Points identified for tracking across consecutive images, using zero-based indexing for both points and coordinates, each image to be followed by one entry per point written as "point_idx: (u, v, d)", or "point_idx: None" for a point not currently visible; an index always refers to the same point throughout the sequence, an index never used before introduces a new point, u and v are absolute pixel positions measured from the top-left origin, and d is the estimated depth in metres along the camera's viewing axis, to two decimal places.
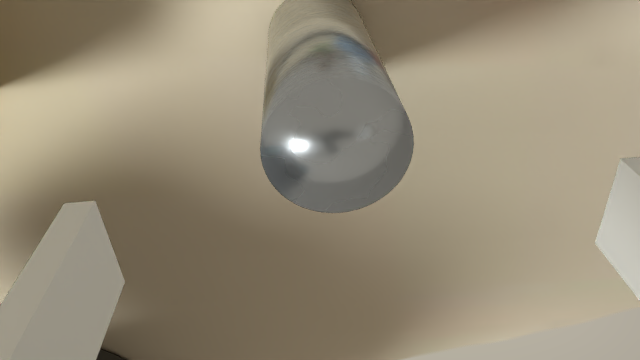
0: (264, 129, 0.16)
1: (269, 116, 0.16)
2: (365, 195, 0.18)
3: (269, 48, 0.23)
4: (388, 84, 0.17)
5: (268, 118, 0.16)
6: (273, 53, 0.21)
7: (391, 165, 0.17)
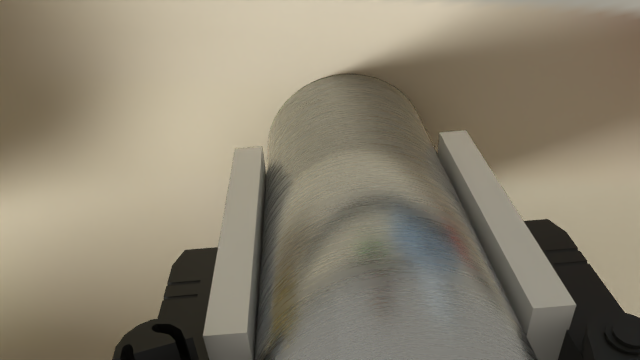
0: None
1: None
2: None
3: (268, 205, 0.12)
4: None
5: None
6: (275, 243, 0.10)
7: None
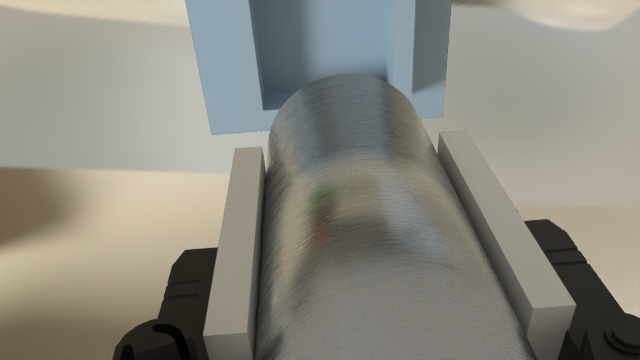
0: None
1: None
2: None
3: (268, 205, 0.12)
4: None
5: None
6: (275, 242, 0.10)
7: None
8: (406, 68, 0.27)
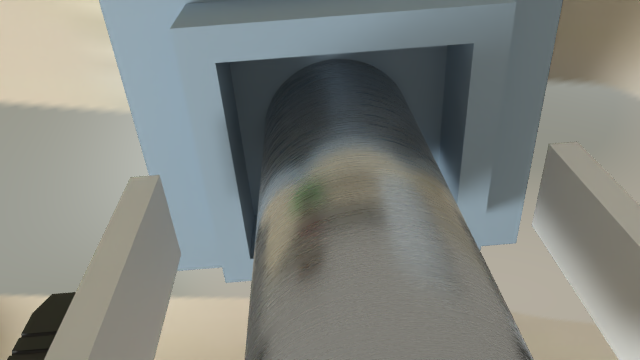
0: None
1: None
2: None
3: (264, 171, 0.13)
4: (514, 335, 0.08)
5: None
6: (270, 198, 0.12)
7: None
8: (477, 199, 0.17)
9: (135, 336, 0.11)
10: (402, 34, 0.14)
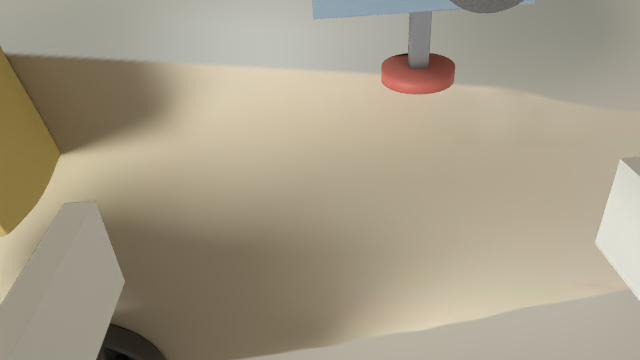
0: None
1: None
2: None
3: None
4: None
5: None
6: None
7: None
8: None
9: None
10: None
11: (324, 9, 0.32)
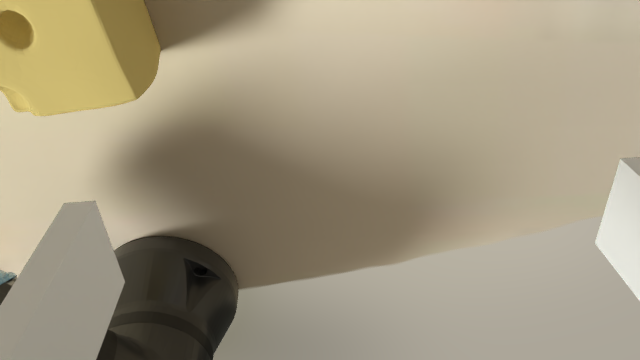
0: None
1: None
2: None
3: None
4: None
5: None
6: None
7: None
8: None
9: None
10: None
11: None
